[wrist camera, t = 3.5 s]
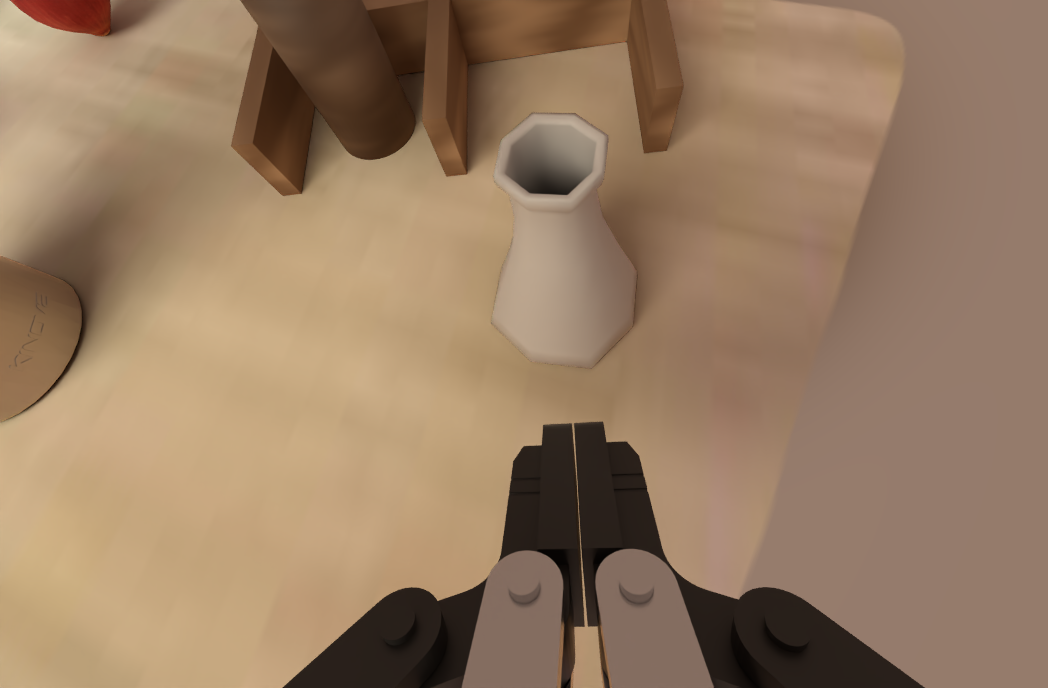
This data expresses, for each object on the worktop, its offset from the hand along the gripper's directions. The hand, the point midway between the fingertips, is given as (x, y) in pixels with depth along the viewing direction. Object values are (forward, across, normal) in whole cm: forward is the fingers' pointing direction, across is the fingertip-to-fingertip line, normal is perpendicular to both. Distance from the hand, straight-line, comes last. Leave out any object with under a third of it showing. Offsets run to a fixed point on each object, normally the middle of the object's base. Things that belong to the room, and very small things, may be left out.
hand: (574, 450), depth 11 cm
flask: (+12, 0, 0) cm, 12 cm away
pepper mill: (+20, +11, -9) cm, 25 cm away
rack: (+20, +5, -9) cm, 23 cm away
